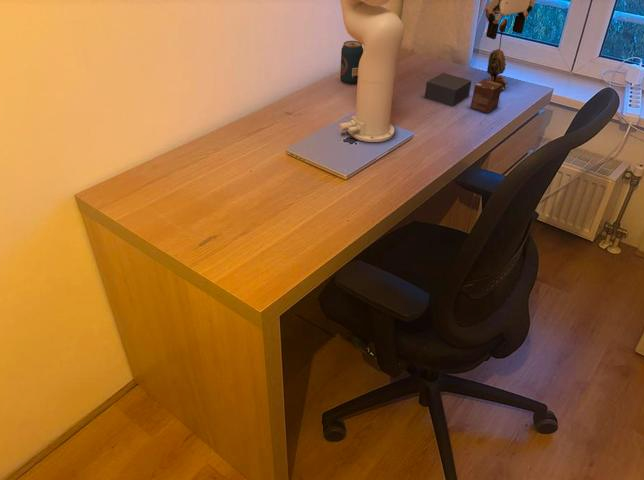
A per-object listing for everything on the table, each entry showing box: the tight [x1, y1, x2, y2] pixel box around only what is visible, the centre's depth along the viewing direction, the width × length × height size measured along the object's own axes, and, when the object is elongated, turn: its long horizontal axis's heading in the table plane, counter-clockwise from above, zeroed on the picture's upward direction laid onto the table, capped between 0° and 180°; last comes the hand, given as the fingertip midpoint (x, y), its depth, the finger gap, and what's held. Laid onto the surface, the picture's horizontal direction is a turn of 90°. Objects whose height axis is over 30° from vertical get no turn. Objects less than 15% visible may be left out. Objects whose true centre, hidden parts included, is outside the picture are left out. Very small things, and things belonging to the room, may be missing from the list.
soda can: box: [339, 40, 364, 86], centre depth 171 cm, size 7×7×12 cm
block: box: [424, 72, 472, 107], centre depth 165 cm, size 10×10×5 cm
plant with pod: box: [486, 18, 508, 91], centre depth 167 cm, size 8×11×20 cm
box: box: [470, 78, 502, 114], centre depth 159 cm, size 6×6×7 cm
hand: (503, 35), depth 148 cm, fingers open, 9 cm apart
